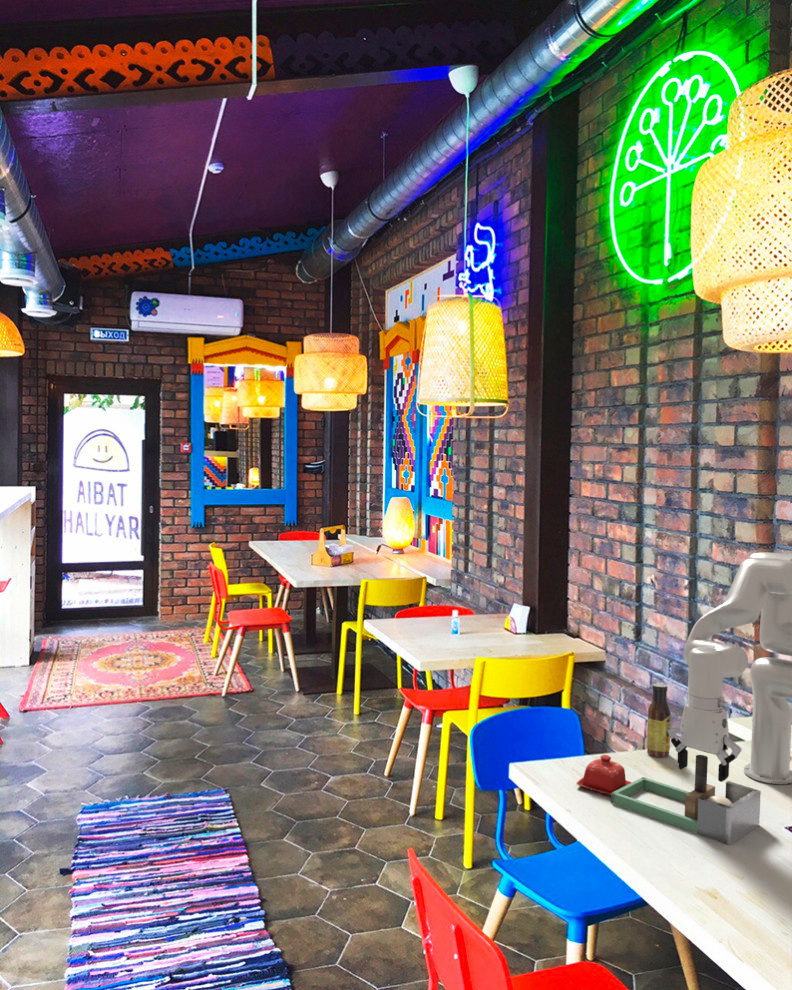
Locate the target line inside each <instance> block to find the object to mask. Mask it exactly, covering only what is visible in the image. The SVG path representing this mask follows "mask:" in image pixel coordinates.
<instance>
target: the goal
mask: <svg viewBox="0 0 792 990" xmlns="http://www.w3.org/2000/svg"><path fill="white" fill-rule="evenodd" d="M761 792H762V791H761V790H759V789H756V788H753V787H750V786H746V785H743V784H739V783H736V782H732V781H730V780H727V781H726V782H725V795H724V797H725V798H727V799H728V800H730V801H731V802H732V804H731V805H730V806H727V805H724V804H720V803H717V802H714V801H711V800H708V799H705V798H702V797H700V798H699V799H698V821H697V833H696V834H697V835H700V836H703V837H705V838H709V839H712V840H713V841H716V842H719V843H722V844H726V845H727V846H731V845H733V844H734V843H736V842H737V841H738V840H740V839H742V838H743V837H744V836H746V835H747V834H748V833H750V832H751V831H753V830H754V829H756V828H757V827H758V826H760V814H761V813H760V812H761V811H760V810H761V795H762V793H761Z"/></svg>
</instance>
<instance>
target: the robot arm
mask: <svg viewBox="0 0 792 990" xmlns="http://www.w3.org/2000/svg"><path fill="white" fill-rule="evenodd" d="M732 581H733V582H732V583H731V585H730V587H729V590H728V593H727V595H726V598H725V600H724V602H722V604H719V605H718V606H717V607H715V608H713V609H711V610H710V611H708V612H706V614H704V615H703V616H701V617H700V618H699V619H698V620H697V621H696V622H695V623H694V625H693V627H692V629H691V631H690V634H689V635H688V637H687V640H686V642H685V646H684V649H683V660H684V663H685V665H687V666H688V675H687V676H688V677H687V678H688V680H687V681H688V682H687V683H688V684H687V685H688V686H687V703H685V704H684V708H683V711H682V716H681V722H680V726H676V727H673V728H670V730H668V734H669V736H670V743H672V745H673V746H674V748H675V751H676V752H677V764H678V770H683V769H685V768H687V767H688V765H689V764H688V759H689V757H688V755H689V751H688V749H689V748H690V749H693V750H696V751H700V752H703V753H707V754H711V755H713V756H714V755H715V756H716V757H717V759H718V760H719V762H720V763H719V764H718V774H717V775H718V776H717V777H718V782H720V783H722V782H724V781H725V780H727V779H728V778H729V776H730V763H732V762H733V761H734V760H736V759H737V758H738V756H739V755H740V753H741V752H742V747H740V746H739V745H738V744H737V743H736V742H735V741H733V740H732V739H731V738H729V737H730V735H729V734H730V733H729V723H728V716H727V712H726V708H728V705H729V702H728V701H725V700H724V696H723V692H724V691H723V688H724V687H723V684H724V679H726V678H727V679H728V678H729V679H730V678H735V677H736V678H737V677H739V676H741V675H743V673H744V672H745V671H746V669H747V667H748V664H749V658H748V654H747V652H746V651H745V650H744V649H743V648H742V647H740V646H738V645H735V644H730V643H726V642H721V641H715V640H710V639H711V638H712V637H713V636H714V635H716V634H718V633H720V632H722V631H725V630H728V629H732V628H737V627H742V626H747V625H749V624H753V623H754V622H756V621H757V620H758V619H759V617H760V622H759V623H760V624H759V644H760V646H761V648H762V649H763V650H764V651H766V652H769V653H773V654H777V655H783V656H789V657H792V554H788V553H781V552H780V553H779V552H766V551H765V552H764V551H761V552H760V551H759V552H754V553H752V554H751V555H749V557H747V559H746V560H743V561H742V562H741V564H740V565H739V567H738V569H737V572H736V574H735V576H734V578H733V580H732ZM749 674H750V683H751V689H752V690H751V692H752V718H751V721H752V722H751V742H750V743H751V746H750V763H748V764H745V765H744V768H743V772H744V774H745V775H746V776H748V777H749V778H751V779H753V780H755V781H757V782H763V783H765V784H766V783H767V784H771V783H772V785H788V783H790V784H792V770H791V769H790V767H791V766H790V765H791V764H790V763H791V762H792V756H791V744H792V743H791V742H792V741H791V739H792V710H791V709H792V708H791V706H790V704H789V703H788V701H787V699H790V700H791V699H792V660H787V659H781V658H777V657H770V656H769V657H768V656H767V657H765V656H764V657H759V658H757V659H755V660H754V661H753V662H752V664H751V666H750V673H749ZM786 698H787V699H786ZM724 708H725V709H724ZM677 734H680V736H679V737H678V735H677ZM679 738H680V739H679ZM687 748H688V749H687ZM729 749H730V750H731V753H730V754H729V753H728V752H727V751H728V750H729Z"/></svg>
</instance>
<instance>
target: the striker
mask: <svg viewBox="0 0 792 990" xmlns="http://www.w3.org/2000/svg"><path fill="white" fill-rule="evenodd" d="M708 763H709V758H708V756H707V755H704V754H697V755H695V770H694V773H695V775H694V789H693V790H691V791H688V792H689V793H688V794H686V795H685V802H684V816H685V817H688V818H691V819H694V820H697V821H698V799H699V798H700V797H702V798H705V799H708V798H710V797H712V796H716V786H714V785H712V784H708V765H709V764H708Z"/></svg>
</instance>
